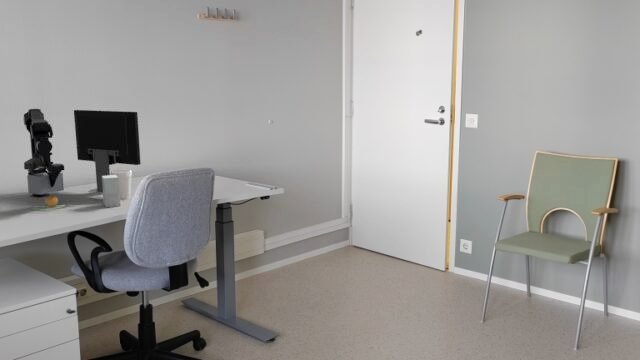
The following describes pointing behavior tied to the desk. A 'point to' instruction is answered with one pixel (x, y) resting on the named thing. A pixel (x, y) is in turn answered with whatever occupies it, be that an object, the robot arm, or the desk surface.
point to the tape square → (47, 207)
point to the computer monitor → (107, 140)
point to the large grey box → (44, 183)
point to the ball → (51, 201)
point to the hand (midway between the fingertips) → (45, 186)
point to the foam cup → (123, 182)
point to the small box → (111, 190)
